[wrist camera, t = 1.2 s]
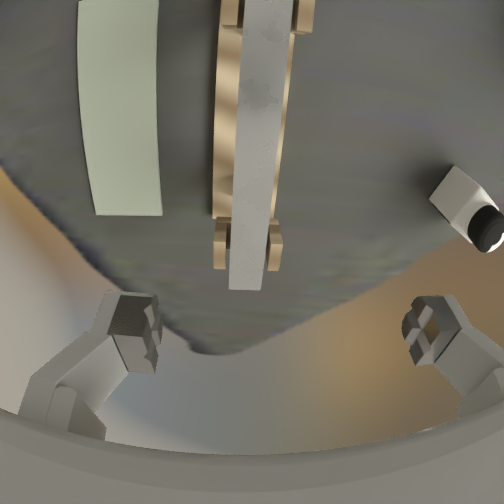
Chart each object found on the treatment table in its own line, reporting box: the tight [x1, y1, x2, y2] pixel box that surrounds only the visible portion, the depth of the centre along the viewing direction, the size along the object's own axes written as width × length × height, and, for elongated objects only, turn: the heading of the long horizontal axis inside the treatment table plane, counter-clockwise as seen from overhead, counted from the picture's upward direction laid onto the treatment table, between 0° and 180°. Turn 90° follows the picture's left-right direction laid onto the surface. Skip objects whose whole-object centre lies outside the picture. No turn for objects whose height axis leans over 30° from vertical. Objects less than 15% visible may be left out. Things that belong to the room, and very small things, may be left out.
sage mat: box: [77, 0, 163, 216], centre depth 31 cm, size 30×10×1 cm, turn 176°
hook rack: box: [213, 0, 315, 271], centre depth 27 cm, size 30×8×15 cm, turn 176°
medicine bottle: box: [429, 166, 504, 253], centre depth 35 cm, size 7×7×12 cm
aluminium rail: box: [229, 0, 293, 290], centre depth 22 cm, size 28×3×3 cm, turn 176°
